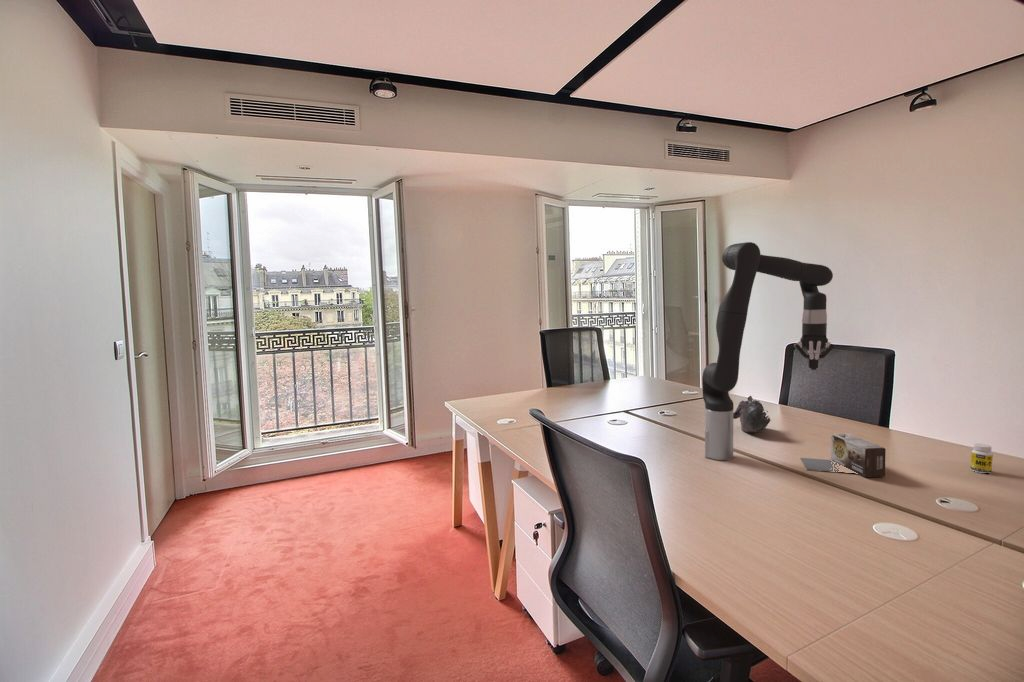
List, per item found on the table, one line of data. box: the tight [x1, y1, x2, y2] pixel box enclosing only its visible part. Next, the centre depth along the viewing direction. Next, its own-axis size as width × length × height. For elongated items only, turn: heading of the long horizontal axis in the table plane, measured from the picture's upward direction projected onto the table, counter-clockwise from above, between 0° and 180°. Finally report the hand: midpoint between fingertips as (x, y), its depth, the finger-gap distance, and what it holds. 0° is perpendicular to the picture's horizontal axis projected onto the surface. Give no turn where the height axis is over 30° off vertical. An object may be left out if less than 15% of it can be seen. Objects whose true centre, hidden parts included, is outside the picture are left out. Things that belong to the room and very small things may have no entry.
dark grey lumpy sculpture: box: [733, 395, 771, 433], centre depth 200 cm, size 14×15×20 cm
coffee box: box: [830, 432, 887, 478], centre depth 157 cm, size 9×6×16 cm
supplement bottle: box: [969, 442, 993, 474], centre depth 151 cm, size 5×5×8 cm
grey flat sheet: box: [800, 457, 840, 472], centre depth 160 cm, size 20×12×1 cm, turn 68°
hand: (813, 369), depth 178 cm, fingers closed
